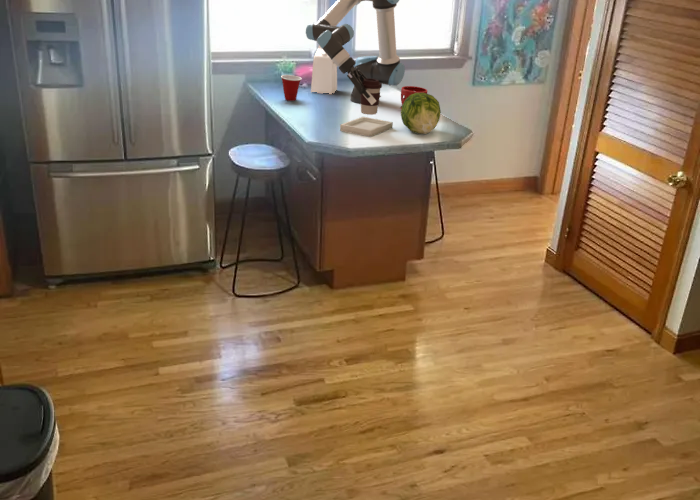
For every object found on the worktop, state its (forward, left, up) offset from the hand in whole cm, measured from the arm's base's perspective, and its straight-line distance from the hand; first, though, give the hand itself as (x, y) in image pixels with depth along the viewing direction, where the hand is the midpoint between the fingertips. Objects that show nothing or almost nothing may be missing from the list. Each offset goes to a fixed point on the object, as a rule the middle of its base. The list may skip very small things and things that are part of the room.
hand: (376, 100), depth 327 cm
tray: (+2, -3, -13) cm, 14 cm away
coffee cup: (+1, -3, -6) cm, 7 cm away
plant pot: (-43, -3, -13) cm, 46 cm away
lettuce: (-11, +18, -13) cm, 25 cm away
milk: (-54, -63, -13) cm, 84 cm away
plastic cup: (-24, -64, -13) cm, 69 cm away
